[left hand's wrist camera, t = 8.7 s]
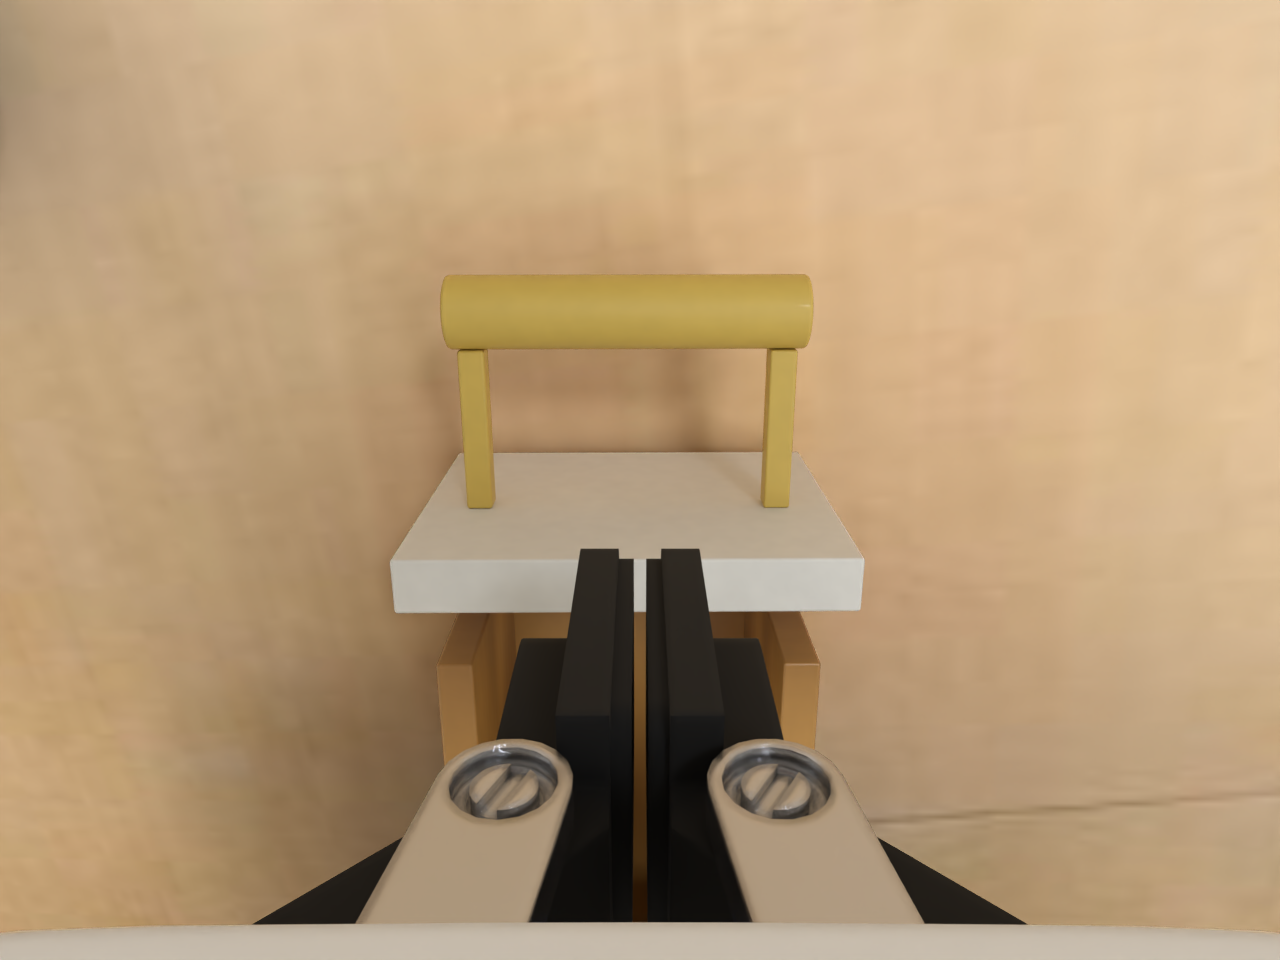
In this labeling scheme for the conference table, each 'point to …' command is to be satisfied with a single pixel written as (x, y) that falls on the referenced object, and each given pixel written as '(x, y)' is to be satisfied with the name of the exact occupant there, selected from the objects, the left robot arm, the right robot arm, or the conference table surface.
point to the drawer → (623, 502)
